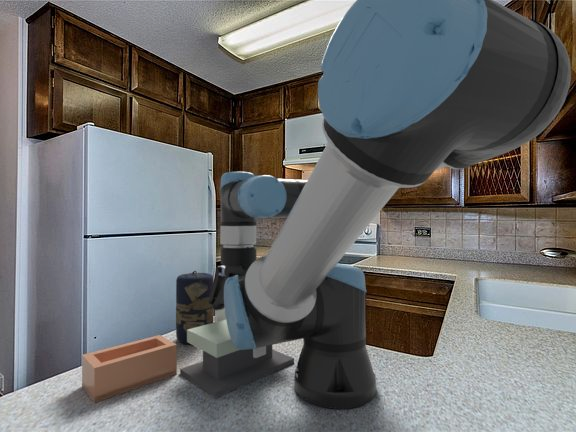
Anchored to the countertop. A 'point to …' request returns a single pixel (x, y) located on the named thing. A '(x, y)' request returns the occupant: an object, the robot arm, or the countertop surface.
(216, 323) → the board
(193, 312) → the canister
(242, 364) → the mat stand
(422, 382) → the countertop surface
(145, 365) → the dish
